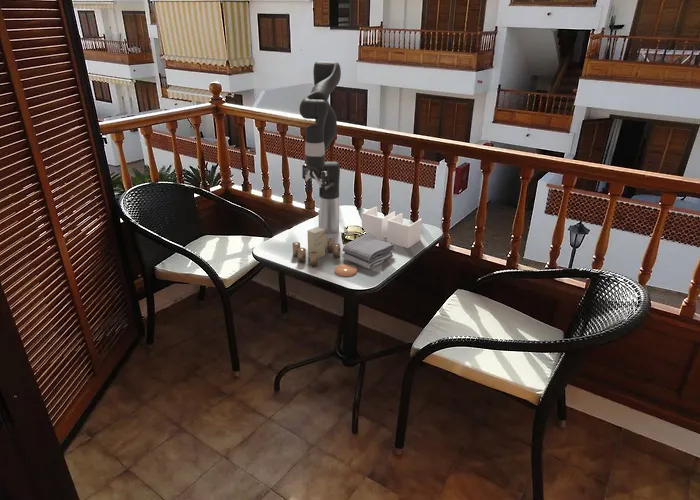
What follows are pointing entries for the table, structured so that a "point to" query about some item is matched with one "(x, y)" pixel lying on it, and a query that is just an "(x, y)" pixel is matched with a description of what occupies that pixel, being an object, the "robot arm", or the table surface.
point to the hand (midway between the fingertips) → (315, 193)
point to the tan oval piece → (345, 270)
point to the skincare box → (316, 241)
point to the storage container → (391, 228)
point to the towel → (367, 251)
